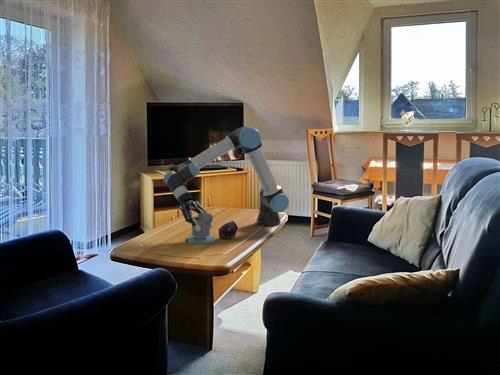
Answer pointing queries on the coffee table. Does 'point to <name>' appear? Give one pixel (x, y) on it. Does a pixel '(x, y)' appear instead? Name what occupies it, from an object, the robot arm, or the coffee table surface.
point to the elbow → (202, 225)
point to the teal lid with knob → (201, 240)
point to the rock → (228, 230)
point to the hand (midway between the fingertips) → (205, 228)
